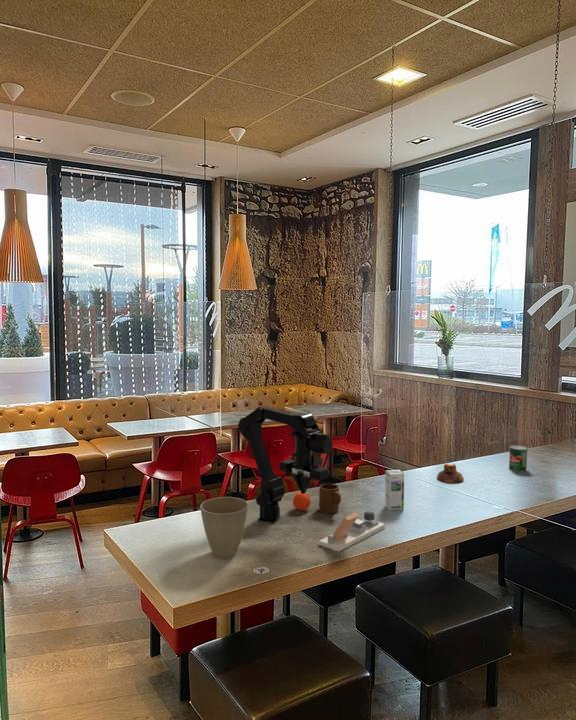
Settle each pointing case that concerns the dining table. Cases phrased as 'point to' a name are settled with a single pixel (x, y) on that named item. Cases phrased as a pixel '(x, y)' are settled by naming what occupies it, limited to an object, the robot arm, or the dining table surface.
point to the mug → (329, 498)
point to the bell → (450, 474)
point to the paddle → (345, 526)
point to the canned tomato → (518, 458)
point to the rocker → (358, 523)
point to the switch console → (352, 535)
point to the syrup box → (394, 489)
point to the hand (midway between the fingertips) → (303, 493)
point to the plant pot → (224, 524)
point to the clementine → (301, 501)
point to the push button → (369, 516)
